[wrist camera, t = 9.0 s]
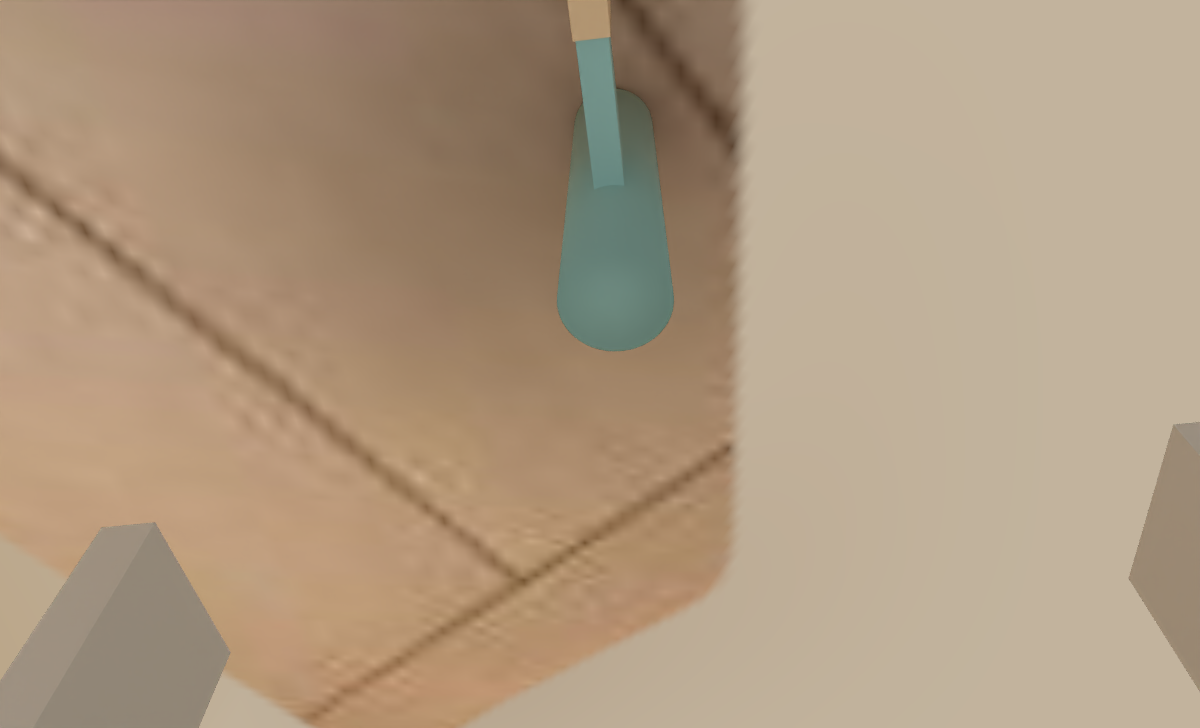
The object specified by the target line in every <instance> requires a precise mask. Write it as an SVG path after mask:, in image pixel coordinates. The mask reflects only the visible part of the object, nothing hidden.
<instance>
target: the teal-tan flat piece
mask: <svg viewBox="0 0 1200 728" xmlns="http://www.w3.org/2000/svg"><path fill="white" fill-rule="evenodd" d="M567 3H568V11H569V19H570V27H571V34H572V42H573V41H575V42H576V50H577V58H578V65H579V73H580V81H581V89H582V97H583V104H582V105H581V107H580V108H579V110H578V112H577V115H576V118H575V124H574V134H573V144H572V154H571V164H570V174H569V184H568V194H567V204H566V214H565V224H564V234H563V244H562V253H561V263H560V273H559V283H558V293H557V307H558V312H559V315H560V318H561V320H562V322H563V324H564V325H565V327H566V328H567V330H568V331H569V332H570V333H571V334H572V335H573V336H574V337H575V338H577V339H578V340H579V341H581V342H583V343H584V344H586V345H588V346H591V347H593V348H597V349H600V350H605V351H625V350H630V349H634V348H637V347H640V346H642V345H644V344H646V343H648V342H650V341H651V340H652V339H654V338H655V337H656V336H657V335H658V334H660V332H661V331H662V330H663V329H664V328H665V326H666V325H667V323H668V321H669V319H670V317H671V314H672V311H673V305H674V295H673V287H672V278H671V270H670V262H669V254H668V246H667V238H666V230H665V221H664V213H663V205H662V197H661V189H660V181H659V173H658V164H657V156H656V148H655V140H654V132H653V124H652V118H651V114H650V112H649V110H648V108H647V106H646V105H645V103H644V102H643V101H642V100H641V99H640V98H639V97H637V96H636V95H635V94H633V93H631V92H629V91H626V90H622V89H616V84H615V74H614V65H613V55H612V46H611V0H567Z"/></svg>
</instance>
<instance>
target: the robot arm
mask: <svg viewBox="0 0 1200 728" xmlns="http://www.w3.org/2000/svg"><path fill="white" fill-rule="evenodd" d="M1129 580H1130V581H1131V583H1132V585H1133V586H1134V588H1135V589H1136V591H1137V593H1138V594H1139V596H1140V597H1141V599H1142V601H1143V602H1144V604H1145V605H1146V607H1147V608H1148V610H1149V612H1150V613H1151V615H1152V616H1153V618H1154V620H1155V621H1156V623H1157V624H1158V626H1159V628H1160V629H1161V631H1162V632H1163V634H1164V635H1165V637H1166V639H1167V640H1168V642H1169V643H1170V645H1171V647H1172V648H1173V650H1174V651H1175V653H1176V654H1177V656H1178V658H1179V659H1180V661H1181V662H1182V664H1183V666H1184V667H1185V669H1186V671H1187V672H1188V674H1189V675H1190V677H1191V678H1192V680H1193V681H1194V683H1195V685H1196V686H1197V688H1198V690H1199V691H1200V422H1196V423H1186V424H1176V425H1173V428H1172V431H1171V435H1170V438H1169V441H1168V445H1167V448H1166V452H1165V455H1164V459H1163V462H1162V466H1161V469H1160V473H1159V476H1158V479H1157V483H1156V486H1155V490H1154V493H1153V497H1152V500H1151V503H1150V507H1149V510H1148V514H1147V517H1146V521H1145V524H1144V527H1143V531H1142V535H1141V538H1140V542H1139V545H1138V548H1137V552H1136V555H1135V558H1134V562H1133V565H1132V569H1131V572H1130V576H1129ZM230 653H231V652H230V651H229V649H228V647H227V645H226V644H225V642H224V640H223V638H222V637H221V635H220V633H219V632H218V630H217V628H216V626H215V625H214V623H213V621H212V620H211V618H210V616H209V614H208V613H207V611H206V609H205V608H204V606H203V604H202V602H201V601H200V599H199V597H198V595H197V594H196V592H195V590H194V589H193V587H192V585H191V583H190V582H189V580H188V578H187V577H186V575H185V573H184V571H183V570H182V568H181V566H180V564H179V563H178V561H177V559H176V558H175V556H174V554H173V552H172V551H171V549H170V547H169V546H168V544H167V542H166V540H165V539H164V537H163V535H162V534H161V532H160V530H159V528H158V527H157V525H156V523H155V522H154V523H144V524H133V525H123V526H113V527H102V528H101V529H100V531H99V532H98V534H97V535H96V537H95V538H94V540H93V541H92V543H91V544H90V546H89V547H88V549H87V550H86V552H85V553H84V555H83V556H82V558H81V559H80V561H79V562H78V564H77V565H76V567H75V568H74V570H73V572H72V573H71V575H70V576H69V578H68V579H67V581H66V582H65V584H64V585H63V587H62V588H61V590H60V591H59V593H58V594H57V596H56V598H55V599H54V601H53V602H52V604H51V605H50V606H49V608H48V609H47V611H46V612H45V614H44V615H43V617H42V619H41V620H40V622H39V623H38V625H37V626H36V628H35V629H34V631H33V632H32V634H31V635H30V637H29V638H28V640H27V641H26V643H25V644H24V646H23V647H22V649H21V650H20V652H19V653H18V655H17V656H16V658H15V660H14V661H13V662H12V664H11V666H10V667H9V669H8V670H7V672H6V673H5V675H4V676H3V678H2V679H1V681H0V728H199V725H200V723H201V721H202V718H203V716H204V714H205V711H206V709H207V707H208V704H209V702H210V699H211V697H212V695H213V693H214V690H215V688H216V685H217V683H218V681H219V678H220V676H221V674H222V671H223V669H224V667H225V664H226V662H227V660H228V657H229V655H230Z"/></svg>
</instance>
